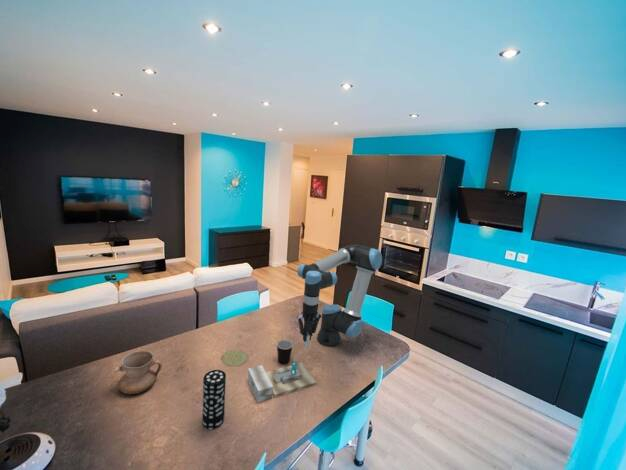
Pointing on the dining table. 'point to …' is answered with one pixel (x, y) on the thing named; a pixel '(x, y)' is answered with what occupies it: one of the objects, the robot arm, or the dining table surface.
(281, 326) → the dining table surface
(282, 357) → the coffee mug
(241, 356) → the sand dollar
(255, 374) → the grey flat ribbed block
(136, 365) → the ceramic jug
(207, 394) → the white-spotted black cylinder
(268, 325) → the dining table surface
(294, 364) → the bolt
